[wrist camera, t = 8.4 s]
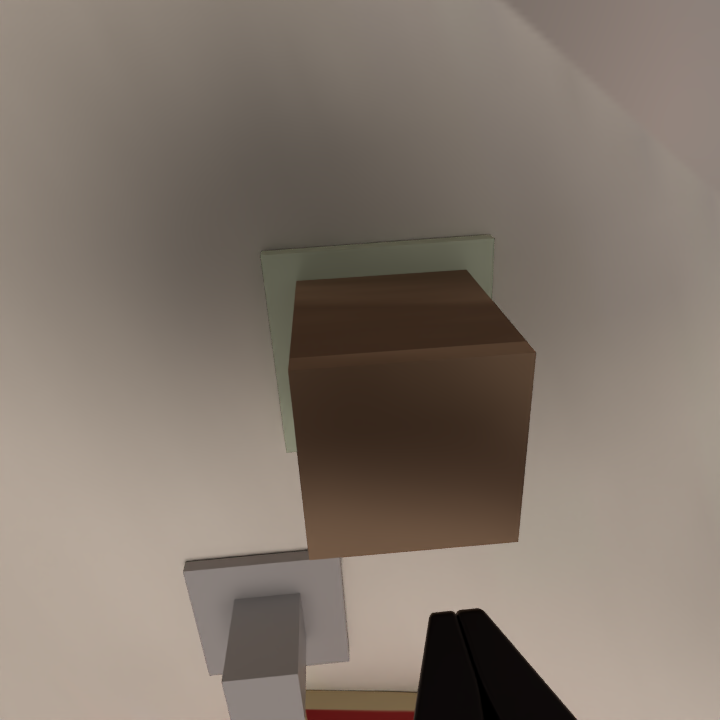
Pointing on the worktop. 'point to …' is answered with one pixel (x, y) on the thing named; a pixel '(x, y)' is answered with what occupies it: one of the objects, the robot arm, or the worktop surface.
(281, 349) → the post
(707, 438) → the worktop surface
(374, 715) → the milk carton
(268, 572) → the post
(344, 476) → the brown rectangular block
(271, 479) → the worktop surface
